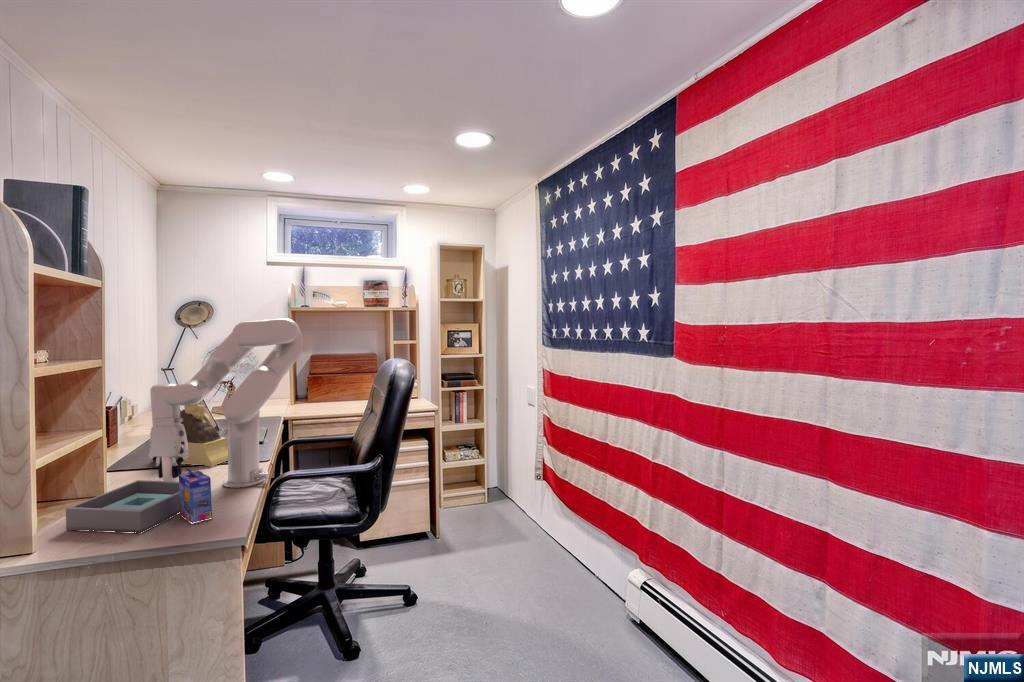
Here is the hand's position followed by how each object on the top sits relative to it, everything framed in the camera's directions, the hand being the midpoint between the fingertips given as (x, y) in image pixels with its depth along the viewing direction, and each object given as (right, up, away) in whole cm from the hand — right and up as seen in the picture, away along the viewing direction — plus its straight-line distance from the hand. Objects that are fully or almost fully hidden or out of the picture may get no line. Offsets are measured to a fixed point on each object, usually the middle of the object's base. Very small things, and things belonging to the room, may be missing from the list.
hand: (170, 476), depth 162 cm
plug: (0, -3, 0) cm, 3 cm away
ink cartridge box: (+22, -6, -22) cm, 32 cm away
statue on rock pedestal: (-13, -3, +34) cm, 37 cm away
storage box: (+6, -5, -21) cm, 22 cm away
